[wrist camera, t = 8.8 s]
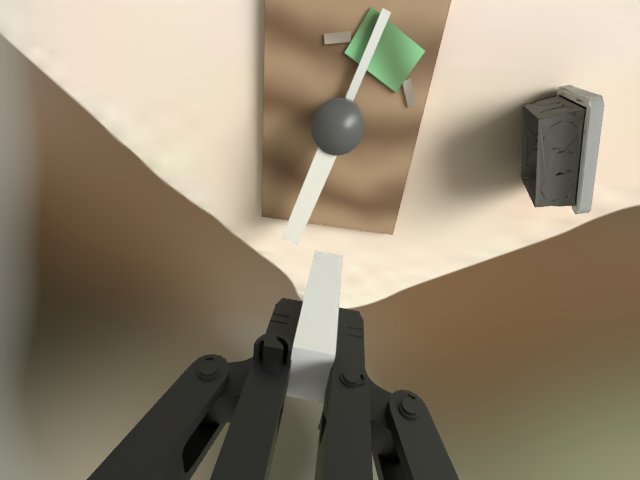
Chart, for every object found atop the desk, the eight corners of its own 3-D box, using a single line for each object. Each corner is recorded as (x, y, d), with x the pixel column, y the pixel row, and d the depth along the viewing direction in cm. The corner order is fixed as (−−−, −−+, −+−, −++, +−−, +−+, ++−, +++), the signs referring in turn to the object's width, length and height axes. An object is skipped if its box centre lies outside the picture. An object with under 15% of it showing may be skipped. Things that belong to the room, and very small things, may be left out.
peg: (362, 0, 26) (365, -20, 20) (408, 24, 26) (421, 9, 21) (281, 211, 36) (268, 234, 30) (315, 226, 36) (309, 250, 31)
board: (269, -39, 26) (264, -46, 25) (452, -19, 26) (458, -25, 24) (264, 212, 38) (260, 217, 36) (391, 230, 37) (393, 236, 36)
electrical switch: (559, 177, 32) (616, 212, 24) (505, 187, 34) (542, 222, 26) (566, 83, 28) (636, 87, 20) (504, 99, 30) (547, 108, 22)
